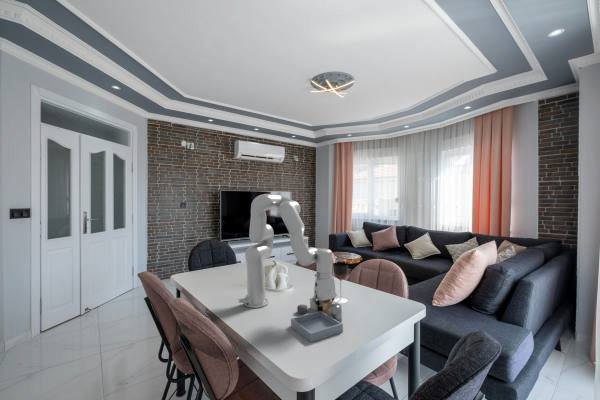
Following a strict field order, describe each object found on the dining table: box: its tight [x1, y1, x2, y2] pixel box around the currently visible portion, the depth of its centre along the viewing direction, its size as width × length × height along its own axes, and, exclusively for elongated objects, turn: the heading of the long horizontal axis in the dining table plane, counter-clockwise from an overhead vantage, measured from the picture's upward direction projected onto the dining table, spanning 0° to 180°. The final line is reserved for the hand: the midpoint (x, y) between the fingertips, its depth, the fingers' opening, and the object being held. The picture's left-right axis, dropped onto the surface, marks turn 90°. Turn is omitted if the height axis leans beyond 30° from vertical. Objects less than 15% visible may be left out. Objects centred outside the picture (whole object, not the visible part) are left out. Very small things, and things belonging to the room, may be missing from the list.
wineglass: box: [332, 261, 349, 304], centre depth 149 cm, size 8×9×20 cm
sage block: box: [309, 297, 317, 312], centre depth 139 cm, size 5×5×5 cm
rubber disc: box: [296, 304, 309, 316], centre depth 134 cm, size 5×5×3 cm
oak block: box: [316, 300, 333, 317], centre depth 131 cm, size 4×6×6 cm
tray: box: [290, 311, 344, 343], centre depth 117 cm, size 16×16×3 cm
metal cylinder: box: [330, 303, 343, 323], centre depth 124 cm, size 5×5×7 cm
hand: (324, 312), depth 131 cm, fingers closed on oak block, 4 cm apart
